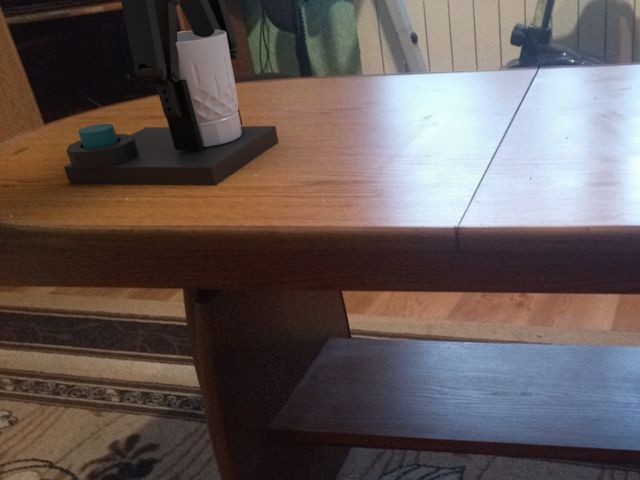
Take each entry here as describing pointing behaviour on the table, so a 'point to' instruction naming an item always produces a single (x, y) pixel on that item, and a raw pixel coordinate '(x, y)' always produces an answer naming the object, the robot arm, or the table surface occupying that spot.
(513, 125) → the table surface
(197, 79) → the white cup
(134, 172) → the scale
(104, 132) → the button
